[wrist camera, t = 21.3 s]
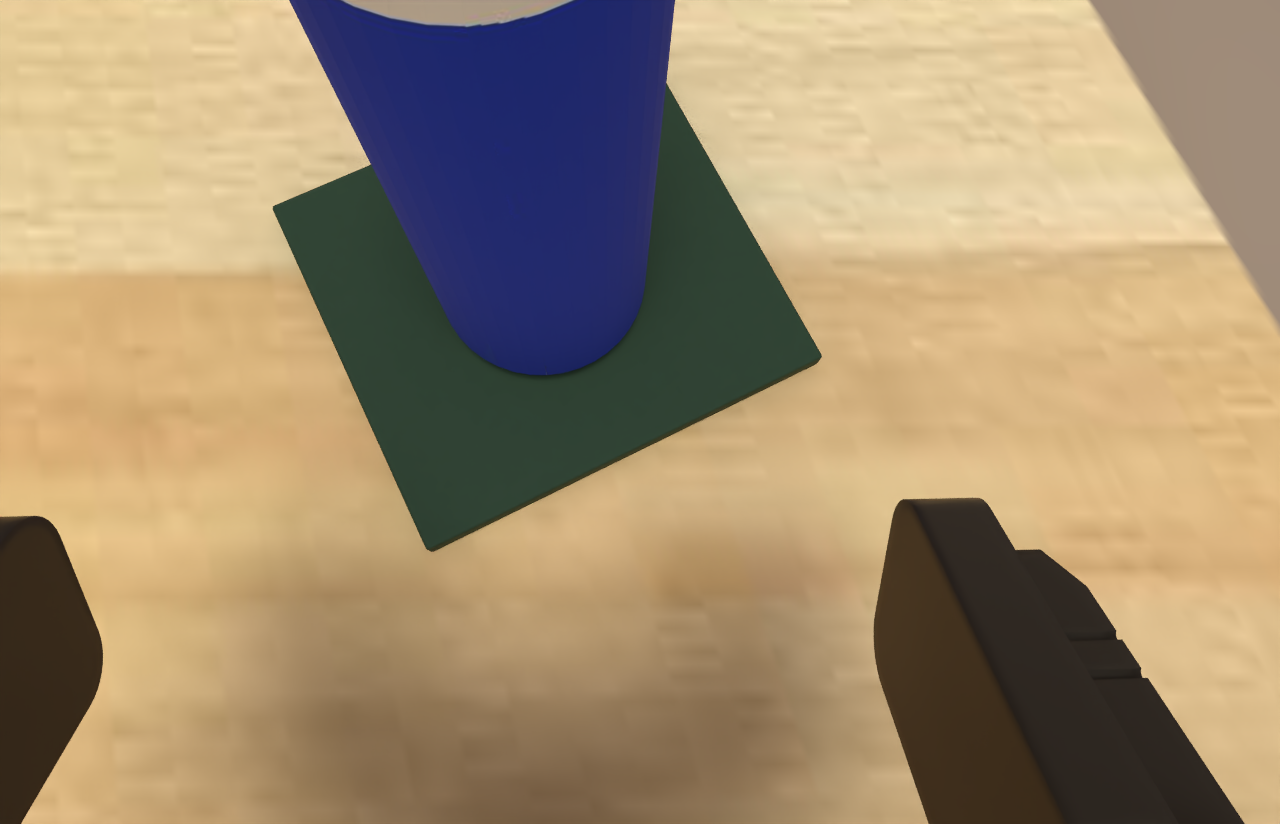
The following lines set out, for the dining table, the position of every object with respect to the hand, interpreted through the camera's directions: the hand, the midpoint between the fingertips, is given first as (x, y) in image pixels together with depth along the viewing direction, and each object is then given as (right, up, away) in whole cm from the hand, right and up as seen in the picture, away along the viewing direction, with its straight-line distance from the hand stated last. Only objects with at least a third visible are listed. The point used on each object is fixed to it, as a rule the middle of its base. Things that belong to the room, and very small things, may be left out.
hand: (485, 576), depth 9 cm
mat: (-1, +5, +16) cm, 16 cm away
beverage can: (-1, +5, +15) cm, 16 cm away
